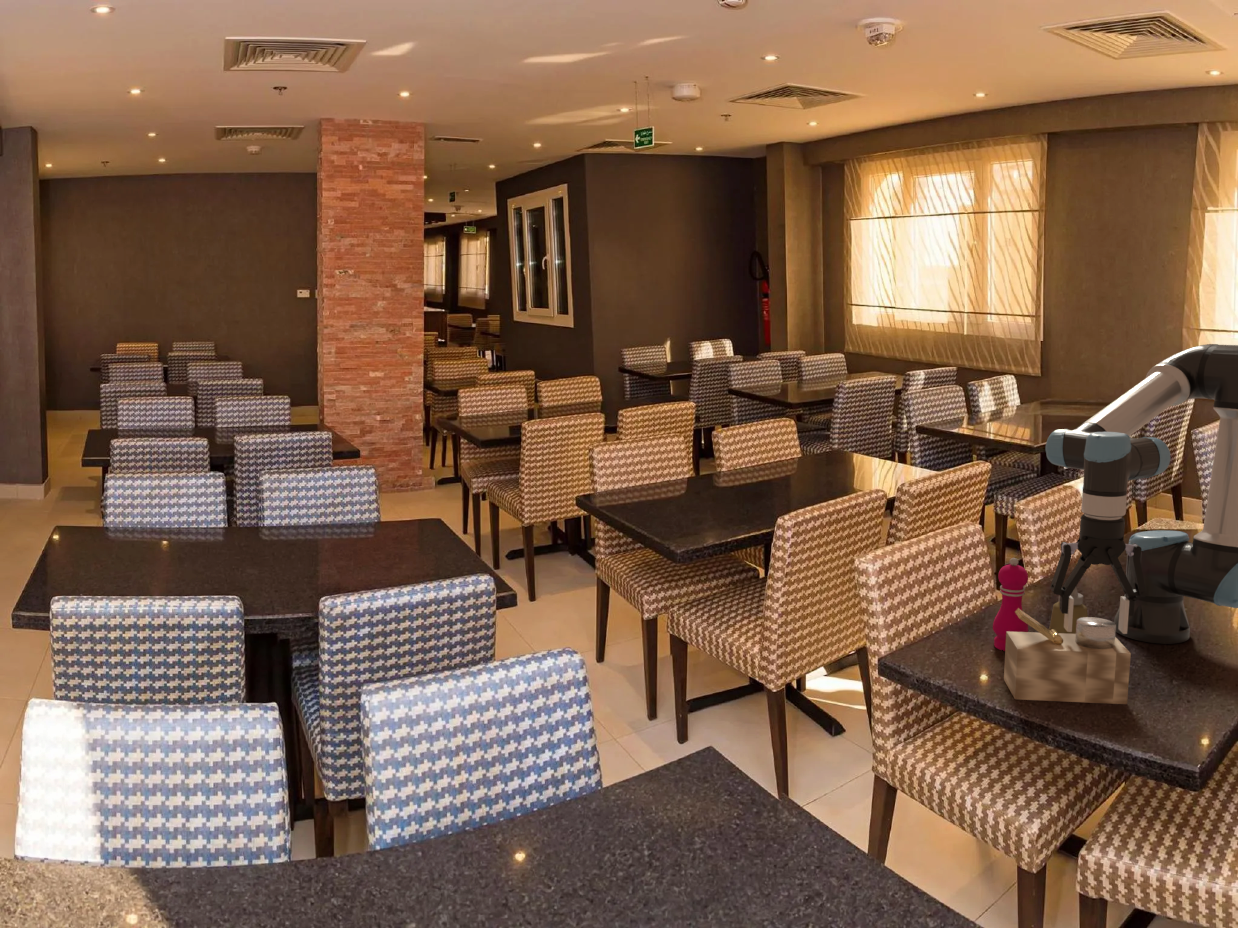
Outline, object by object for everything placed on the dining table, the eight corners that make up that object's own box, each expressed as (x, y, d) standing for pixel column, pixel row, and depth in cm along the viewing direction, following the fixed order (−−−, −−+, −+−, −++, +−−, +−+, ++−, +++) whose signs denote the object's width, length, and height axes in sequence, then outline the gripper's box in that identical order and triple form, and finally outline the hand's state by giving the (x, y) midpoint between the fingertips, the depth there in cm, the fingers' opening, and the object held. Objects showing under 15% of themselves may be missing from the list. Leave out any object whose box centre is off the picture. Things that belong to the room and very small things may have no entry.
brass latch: (1053, 638, 198) (1058, 632, 198) (1059, 646, 194) (1065, 640, 193) (1014, 611, 198) (1020, 605, 198) (1019, 618, 194) (1025, 612, 194)
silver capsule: (1104, 676, 199) (1109, 617, 197) (1116, 690, 192) (1121, 629, 190) (1068, 675, 200) (1072, 616, 198) (1078, 688, 193) (1082, 628, 191)
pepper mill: (1030, 653, 217) (1035, 563, 214) (994, 652, 219) (999, 561, 215) (1023, 642, 224) (1028, 554, 221) (989, 640, 226) (993, 552, 222)
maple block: (1110, 683, 201) (1113, 635, 199) (1126, 704, 191) (1130, 653, 189) (1003, 679, 204) (1006, 631, 202) (1014, 699, 194) (1017, 648, 192)
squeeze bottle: (1085, 670, 208) (1090, 585, 204) (1042, 663, 212) (1047, 579, 209) (1090, 658, 214) (1096, 575, 211) (1049, 651, 219) (1054, 570, 215)
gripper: (1158, 511, 192) (1149, 626, 196) (1036, 509, 196) (1030, 621, 200) (1173, 521, 185) (1163, 639, 189) (1046, 518, 188) (1039, 634, 192)
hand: (1095, 630), depth 194 cm, fingers open, 9 cm apart
